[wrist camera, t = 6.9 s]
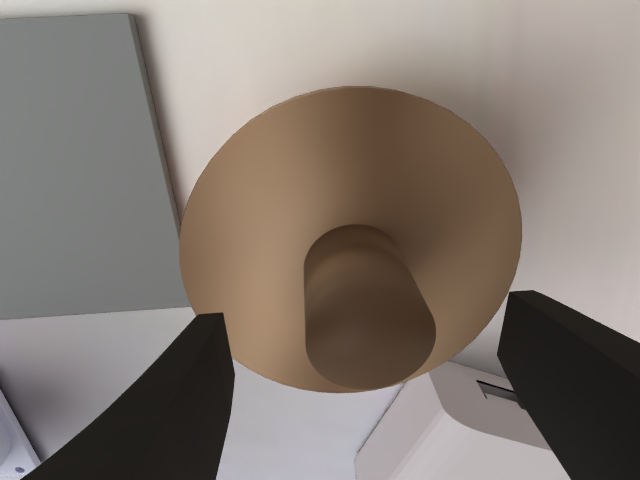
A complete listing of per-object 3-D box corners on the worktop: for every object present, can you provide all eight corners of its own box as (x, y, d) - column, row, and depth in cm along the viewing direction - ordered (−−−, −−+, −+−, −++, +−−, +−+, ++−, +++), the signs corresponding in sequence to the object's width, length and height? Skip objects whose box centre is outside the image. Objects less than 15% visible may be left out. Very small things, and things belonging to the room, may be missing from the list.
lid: (217, 388, 16) (190, 498, 12) (148, 99, 11) (64, 124, 7) (487, 365, 16) (548, 467, 12) (537, 73, 11) (666, 83, 7)
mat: (-57, 316, 18) (-67, 324, 18) (-220, 31, 13) (-242, 30, 13) (196, 299, 19) (193, 306, 18) (134, 14, 14) (127, 13, 13)
